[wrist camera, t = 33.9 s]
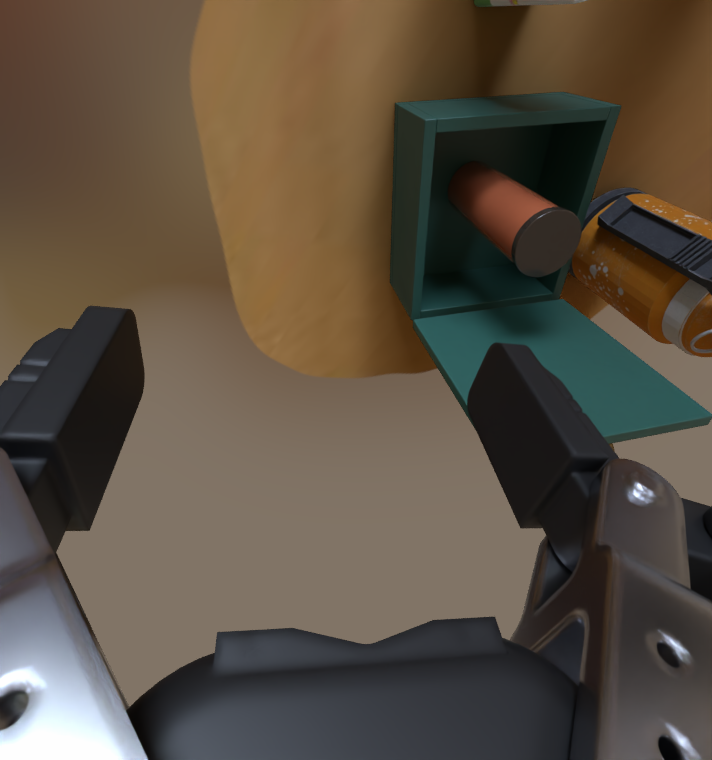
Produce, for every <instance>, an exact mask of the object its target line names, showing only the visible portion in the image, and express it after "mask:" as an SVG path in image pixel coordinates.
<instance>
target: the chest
mask: <svg viewBox="0 0 712 760" xmlns="http://www.w3.org/2000/svg"><path fill="white" fill-rule="evenodd" d="M620 109H621V105H616V104H612V103H608V102H604V101H600V100H595V99H591V98H587V97H583V96H578V95H574V94H570V93H566V92H554V93H539V94H523V95H508V96H492V97H477V98H461V99H446V100H430V101H415V102H399V103H395V123H394V157H393V191H392V226H391V260H390V284H391V286H392V287H393V289H394V291H395V292H396V294H397V296H398V298H399V299H400V301H401V303H402V305H403V307H404V308H405V310H406V312H407V314H408V315H409V317H410V319H411V320H415V319H422V318H429V317H436V316H444V315H451V314H458V313H465V312H472V311H480V310H487V309H494V308H501V307H509V306H516V305H523V304H530V303H537V302H545V301H552V300H559V298H560V295H561V292H562V288H563V285H564V282H565V279H566V276H567V273H568V270H569V267H570V264H571V261H572V258H573V256H572V257H571V258H570V259H569V260H568V262H567V263H566V264H565V265H563V266H562V267H561V268H560V269H558V270H557V271H555V272H553V273H551V274H549V275H546V276H543V277H529V276H526V275H524V274H523V273H521V272H520V271H519V270H518V269H517V268H516V267H515V265H514V264H513V262H512V261H511V260H509V259H508V258H507V257H506V256H505V255H504V254H503V253H502V252H501V251H499V250H498V249H497V248H496V247H495V246H494V245H493V244H492V243H491V242H489V241H488V240H487V239H486V238H485V237H484V236H483V235H482V234H481V233H479V232H478V231H477V230H476V229H475V228H474V227H473V226H472V225H471V224H469V223H468V222H467V221H466V220H465V219H464V218H463V217H462V216H461V215H460V214H458V213H457V212H456V211H455V210H454V209H453V208H452V207H451V205H450V203H449V200H448V187H449V183H450V181H451V179H452V177H453V175H454V174H455V173H456V171H457V170H458V169H459V168H461V167H462V166H463V165H465V164H467V163H469V162H472V161H482V162H485V163H487V164H489V165H490V166H492V167H494V168H495V169H497V170H499V171H500V172H502V173H504V174H505V175H507V176H509V177H510V178H512V179H514V180H515V181H517V182H519V183H520V184H522V185H524V186H525V187H527V188H529V189H530V190H532V191H534V192H535V193H537V194H539V195H540V196H542V197H544V198H545V199H547V200H549V201H550V202H552V203H554V204H555V205H557V206H559V207H562V208H565V209H567V210H569V211H571V212H573V213H574V214H575V215H576V216H577V217H578V219H579V221H580V223H581V229H582V227H583V223H584V220H585V217H586V214H587V211H588V208H589V205H590V202H591V199H592V196H593V193H594V189H595V186H596V183H597V180H598V177H599V174H600V171H601V168H602V165H603V162H604V159H605V155H606V152H607V149H608V146H609V143H610V140H611V137H612V134H613V131H614V128H615V125H616V121H617V118H618V115H619V112H620Z"/></svg>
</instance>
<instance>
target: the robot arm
mask: <svg viewBox="0 0 712 760" xmlns="http://www.w3.org/2000/svg"><path fill="white" fill-rule="evenodd" d="M143 387H144V366H143V359H142V353H141V347H140V341H139V335H138V329H137V324H136V318H135V314H134V312H133V311H132V310H131V309H122V308H110V307H100V306H89V307H87V308H86V309H85V311H84V312H83V314H82V315H81V317H80V318H79V319H78V321H77V322H76V324H75V325H74V327H73V328H72V329H63V328H58V329H56V330H55V331H53V332H51V333H50V334H48V335H46V336H45V337H43V338H41V339H40V340H38V341H36V342H35V343H34V344H33V345H32V347H31V348H30V349H29V350H28V352H27V353H26V354H25V355H24V357H23V358H22V359H21V360H20V365H17V366H16V367H15V368H14V369H13V371H12V372H11V373H10V374H9V376H8V380H5V381H4V382H3V383H2V385H1V386H0V760H712V507H710V506H707V505H704V504H700V503H697V502H693V501H690V500H686V499H683V498H680V497H679V495H678V493H677V491H676V490H675V489H674V488H673V486H671V484H670V483H668V481H667V480H665V479H664V478H663V477H662V476H661V475H659V474H658V473H657V472H655V471H653V470H652V469H650V468H649V467H647V466H645V465H643V464H640V463H638V462H635V461H632V460H628V459H619V457H618V456H617V455H616V453H615V452H614V451H613V449H612V448H611V447H610V445H609V444H608V443H607V441H606V440H605V439H604V437H603V436H602V435H601V433H600V432H599V431H598V429H597V428H596V427H595V425H594V424H593V423H592V421H591V420H590V419H589V417H588V416H587V415H586V413H583V412H582V410H583V409H582V408H581V407H580V405H579V404H578V403H577V401H576V400H573V396H572V394H571V393H570V392H569V390H568V389H567V388H566V386H565V385H564V384H563V382H562V381H561V380H560V379H558V378H557V377H556V376H555V375H553V374H552V373H551V372H550V371H548V370H547V369H546V368H545V367H543V366H542V364H541V363H540V362H539V360H538V359H537V358H536V356H535V355H534V353H533V352H532V351H531V349H530V348H529V347H528V346H526V345H521V344H510V343H498V342H496V343H493V344H492V345H491V346H490V347H489V349H488V351H487V353H486V355H485V357H484V359H483V361H482V364H481V366H480V368H479V370H478V372H477V375H476V377H475V379H474V381H473V383H472V386H471V388H470V390H469V393H468V399H467V407H468V412H469V415H470V418H471V420H472V422H473V424H474V427H475V429H476V431H477V433H478V435H479V438H480V440H481V442H482V444H483V446H484V449H485V451H486V453H487V455H488V457H489V460H490V462H491V464H492V466H493V468H494V471H495V473H496V475H497V477H498V480H499V482H500V484H501V486H502V488H503V490H504V493H505V495H506V497H507V499H508V502H509V504H510V506H511V508H512V510H513V513H514V515H515V517H516V519H517V521H518V524H519V526H520V528H543V529H544V531H545V533H546V537H545V538H544V539H543V540H542V542H541V543H540V546H539V549H538V553H537V558H536V561H535V566H534V570H533V574H532V578H531V582H530V586H529V590H528V594H527V598H526V602H525V606H524V610H523V614H522V617H521V620H520V622H519V624H518V627H517V628H516V630H515V632H514V633H513V635H512V637H511V639H510V641H509V640H507V639H504V638H502V637H501V633H500V630H499V628H498V625H497V622H496V619H495V617H480V618H463V619H445V620H432V621H430V622H427V623H425V624H422V625H420V626H417V627H414V628H412V629H409V630H407V631H404V632H402V633H399V634H397V635H394V636H391V637H389V638H386V639H384V640H381V641H378V642H376V643H373V644H360V643H355V642H351V641H347V640H342V639H338V638H334V637H329V636H325V635H320V634H316V633H312V632H308V631H303V630H298V629H295V628H285V629H267V630H250V631H232V632H218V633H217V639H216V647H215V653H213V654H210V655H207V656H205V657H202V658H199V659H197V660H195V661H193V662H191V663H189V664H187V665H185V666H183V667H181V668H179V669H178V670H176V671H175V672H173V673H171V674H170V675H168V676H167V677H165V678H164V679H162V680H161V681H159V682H158V683H157V684H155V685H154V686H153V687H152V688H151V689H149V690H148V691H147V692H146V693H145V694H143V695H142V696H141V697H140V698H139V699H138V700H136V701H135V702H134V704H133V705H131V706H130V707H129V705H128V703H127V701H126V699H125V697H124V694H123V692H122V690H121V688H120V686H119V684H118V682H117V680H116V678H115V675H114V673H113V671H112V669H111V667H110V665H109V663H108V661H107V659H106V657H105V655H104V653H103V651H102V649H101V647H100V644H99V642H98V641H97V638H96V636H95V634H94V632H93V630H92V627H91V625H90V623H89V621H88V619H87V617H86V615H85V613H84V611H83V608H82V606H81V604H80V602H79V600H78V598H77V596H76V593H75V591H74V589H73V587H72V585H71V583H70V581H69V579H68V576H67V574H66V572H65V570H64V568H63V566H62V564H61V562H60V560H59V558H58V555H57V554H56V551H57V549H58V547H59V545H60V542H61V540H62V537H63V535H64V533H65V531H89V530H90V528H91V525H92V523H93V520H94V518H95V515H96V513H97V510H98V508H99V505H100V502H101V500H102V497H103V495H104V492H105V489H106V487H107V484H108V482H109V479H110V477H111V474H112V471H113V469H114V466H115V464H116V461H117V459H118V456H119V454H120V451H121V449H122V446H123V443H124V441H125V438H126V436H127V433H128V431H129V428H130V425H131V423H132V420H133V418H134V415H135V413H136V410H137V408H138V405H139V402H140V400H141V397H142V394H143V389H144V388H143Z"/></svg>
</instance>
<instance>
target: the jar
mask: <svg viewBox="0 0 712 760" xmlns="http://www.w3.org/2000/svg"><path fill="white" fill-rule="evenodd" d="M448 200H449V203H450V205H451V207H452V208H453V209H454V210H455V211H456V212H457V213H458V214H460V215H461V216H462V217H463V218H464V219H465V220H466V221H467V222H468V223H469V224H471V225H472V226H473V227H474V228H475V229H476V230H477V231H478V232H479V233H481V234H482V235H483V236H484V237H485V238H486V239H487V240H488V241H489V242H491V243H492V244H493V245H494V246H495V247H496V248H497V249H498V250H499V251H501V252H502V253H503V254H504V255H505V256H506V257H507V258H508V259H509V260H511V261H512V262H513V264H514V265H515V267H516V268H517V269H518V270H519V271H520V272H521V273H523V274H524V275H526V276H529V277H543V276H546V275H549V274H551V273H553V272H555V271H557V270H558V269H560V268H561V267H562V266H563V265H565V264H566V263H567V262H568V260H569V259H570V258H571V257H572V256H573V254H574V253H575V251H576V249H577V247H578V245H579V242H580V239H581V233H582V229H581V223H580V221H579V219H578V217H577V216H576V215H575V214H574V213H573V212H571V211H569V210H567V209H565V208H562V207H559V206H557V205H555V204H554V203H552V202H550V201H549V200H547V199H545V198H544V197H542V196H540V195H539V194H537V193H535V192H534V191H532V190H530V189H529V188H527V187H525V186H524V185H522V184H520V183H519V182H517V181H515V180H514V179H512V178H510V177H509V176H507V175H505V174H504V173H502V172H500V171H499V170H497V169H495V168H494V167H492V166H490V165H489V164H487V163H485V162H482V161H472V162H469V163H467V164H465V165H463V166H462V167H461V168H459V169H458V170H457V171H456V173H455V174H454V175H453V177H452V179H451V181H450V183H449V187H448Z"/></svg>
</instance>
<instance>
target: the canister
mask: <svg viewBox="0 0 712 760" xmlns="http://www.w3.org/2000/svg"><path fill="white" fill-rule="evenodd" d="M568 272H569V273H570V274H571V275H573V276H574V277H575V278H577V279H578V280H579V281H580V282H582V283H583V284H584V285H585V286H587V287H588V288H589V289H591V290H592V291H593V292H594V293H596V294H597V295H598V296H600V297H601V298H602V299H603V300H605V301H606V302H607V303H609V304H610V305H611V306H612V307H614V308H615V309H616V310H618V311H619V312H620V313H621V314H623V315H624V316H625V317H627V318H628V319H629V320H630V321H632V322H633V323H634V324H636V325H637V326H638V327H639V328H641V329H642V330H643V331H644V332H646V333H647V334H648V335H650V336H651V337H652V338H654V339H655V340H656V341H658V342H661V343H665V344H675V345H676V346H677V347H678V348H680V349H681V350H682V351H684V352H685V353H687V354H690V355H696V356H700V357H712V222H711V221H708V220H706V219H704V218H701V217H699V216H697V215H695V214H692V213H690V212H688V211H685V210H683V209H681V208H679V207H676V206H674V205H672V204H669V203H667V202H665V201H663V200H660V199H658V198H656V197H653V196H651V195H648V194H646V193H644V192H642V191H640V190H637V189H634V188H619V189H615V190H612V191H609V192H607V193H605V194H603V195H601V196H600V197H598V198H596V199H595V200H594V201H592V202H591V203H590V205H589V208H588V211H587V214H586V217H585V220H584V223H583V227H582V233H581V239H580V242H579V245H578V247H577V249H576V251H575V253H574V254H573V258H572V261H571V264H570V267H569V270H568Z"/></svg>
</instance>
